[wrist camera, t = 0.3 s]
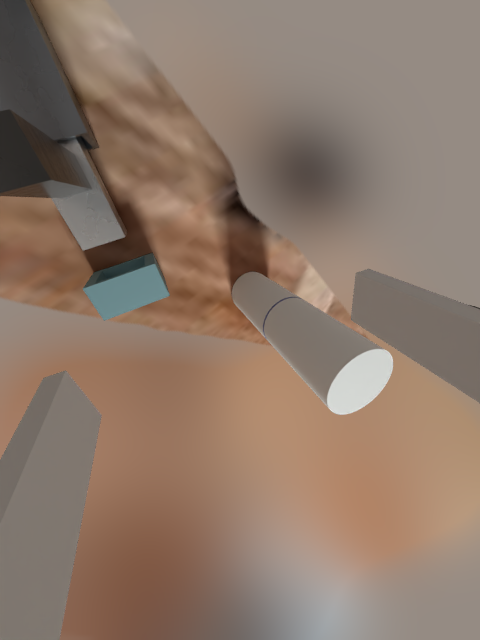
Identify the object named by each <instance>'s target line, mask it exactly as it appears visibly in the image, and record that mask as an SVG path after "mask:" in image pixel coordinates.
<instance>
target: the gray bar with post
mask: <svg viewBox="0 0 480 640" xmlns="http://www.w3.org/2000/svg"><path fill="white" fill-rule="evenodd" d="M0 196H15V197H43V198H51V199H52V200H53V202H54V204H55V205H56V207H57V209H58V210H59V212H60V214H61V215H62V217H63V219H64V220H65V222H66V223H67V225H68V227H69V228H70V230H71V232H72V233H73V235H74V237H75V238H76V240H77V242H78V243H79V245H80V246H81V248H82V250H83V251H84V250H87V249H90V248H93V247H96V246H99V245H102V244H105V243H108V242H112V241H115V240H118V239H121V238H124V237H126V235H127V230H126V228H125V226H124V224H123V222H122V220H121V218H120V216H119V214H118V212H117V210H116V208H115V206H114V204H113V202H112V200H111V198H110V196H109V193H108V191H107V189H106V187H105V185H104V183H103V181H102V179H101V177H100V175H99V173H98V171H97V169H96V167H95V165H94V163H93V161H92V159H91V156H90V154H89V152H88V150H87V148H86V146H85V144H84V142H83V140H82V138H81V136H78V137H74V138H70V139H65V140H61V141H57V142H56V141H55V140H53V139H52V138H50V137H49V136H48V135H46V134H45V133H43V132H42V131H40V130H39V129H37V128H36V127H35V126H33V125H32V124H30V123H29V122H27V121H26V120H24V119H23V118H22V117H20V116H19V115H17V114H16V113H14V112H13V111H11V110H10V109H8V110H4V111H0Z"/></svg>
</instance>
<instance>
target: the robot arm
mask: <svg viewBox="0 0 480 640" xmlns="http://www.w3.org/2000/svg"><path fill="white" fill-rule="evenodd" d="M351 320H352V321H353V322H355V323H356V324H358V325H360V326H361V327H363V328H364V329H366V330H367V331H369V332H370V333H372V334H374V335H375V336H377V337H378V338H380V339H381V340H383V341H384V342H386V343H388V344H389V345H391V346H392V347H394V348H395V349H397V350H398V351H400V352H401V353H403V354H405V355H406V356H408V357H409V358H411V359H412V360H414V361H416V362H417V363H419V364H420V365H422V366H423V367H425V368H426V369H428V370H429V371H431V372H433V373H434V374H436V375H437V376H439V377H440V378H442V379H443V380H445V381H446V382H448V383H450V384H451V385H453V386H454V387H456V388H457V389H459V390H461V391H462V392H464V393H465V394H467V395H468V396H470V397H471V398H473V399H474V400H476V401H478V402H479V403H480V308H478V307H475V306H471V305H467V304H464V303H461V302H458V301H456V300H453V299H450V298H447V297H445V296H442V295H439V294H436V293H433V292H431V291H428V290H425V289H423V288H420V287H417V286H414V285H411V284H409V283H406V282H404V281H401V280H398V279H395V278H393V277H390V276H387V275H384V274H381V273H379V272H376V271H373V270H371V269H367V270H364V271H361V272H358V273H356V276H355V286H354V295H353V304H352V314H351ZM100 420H101V414H100V412H99V411H98V410H97V409H96V407H95V406H94V405H93V404H92V403H91V401H90V400H89V399H88V398H87V396H86V395H85V394H84V392H83V391H82V390H81V389H80V387H79V386H78V385H77V384H76V383H75V381H74V380H73V379H72V378H71V376H70V375H69V374H68V373H67V371H63V372H60V373H57V374H54V375H51V376H48V377H45V378H43V380H42V382H41V384H40V386H39V387H38V389H37V391H36V393H35V395H34V397H33V399H32V401H31V403H30V404H29V406H28V408H27V410H26V412H25V414H24V416H23V418H22V420H21V421H20V423H19V425H18V427H17V429H16V431H15V433H14V435H13V437H12V438H11V441H10V443H9V444H8V446H7V448H6V450H5V452H4V454H3V455H2V458H1V460H0V640H59V639H60V634H61V628H62V623H63V617H64V612H65V607H66V602H67V596H68V591H69V585H70V581H71V575H72V570H73V565H74V559H75V554H76V548H77V543H78V538H79V533H80V527H81V522H82V517H83V511H84V506H85V500H86V495H87V490H88V485H89V479H90V474H91V469H92V464H93V458H94V452H95V448H96V442H97V437H98V432H99V426H100Z"/></svg>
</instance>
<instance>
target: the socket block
mask: <svg viewBox="0 0 480 640" xmlns="http://www.w3.org/2000/svg"><path fill="white" fill-rule="evenodd" d="M83 290H84V291H85V293H86V294H87V296H88V297H89V299H90V300H91V302H92V303H93V305H94V306H95V308H96V309H97V311H98V312H99V314H100V315H101V317H102V318H103V320H104V321H105V320H107V319H110V318H113V317H115V316H118V315H120V314H123V313H126V312H128V311H131V310H134V309H136V308H139V307H141V306H144V305H147V304H149V303H152V302H155V301H157V300H160V299H162V298H165V297H168V296H170V295H169V292H168V288H167V285H166V281H165V279H164V276H163V274H162V272H161V270H160V268H159V265H158V263H157V261H156V259H155V256H154V254H153V253H150V254H147V255H144V256H141V257H138V258H135V259H132V260H129V261H126V262H124V263H121V264H118V265H115V266H112V267H109V268H106V269H103V270H100V271H97V272H94V273H93V275H92V276H91V277H90V279H89V280H88V282H87V283H86V285H85V286H84V288H83Z"/></svg>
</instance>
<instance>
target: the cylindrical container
mask: <svg viewBox="0 0 480 640" xmlns="http://www.w3.org/2000/svg"><path fill="white" fill-rule="evenodd" d="M232 299H233V302H234V303H235V305H236V306H237V307H238V308H239V309H240V310H241V311H242V312H243V314H244V315H245V316H246V317H247V318H248V319H249V320H250V321H251V323H252V324H253V325H254V326H255V327H256V328H257V329H258V330H259V331H260V333H261V334H262V335H263V336H264V337H265V338H266V339H267V340H268V341H269V343H270V344H271V345H272V346H273V347H274V348H275V349H276V350H277V351H278V353H279V354H280V355H281V356H282V357H283V358H284V359H285V360H286V361H287V363H288V364H289V365H290V366H291V367H292V368H293V369H294V370H295V371H296V373H297V374H298V375H299V376H300V377H301V378H302V379H303V380H304V381H305V383H306V384H307V385H308V386H309V387H310V388H311V389H312V390H313V391H314V393H315V394H316V395H317V396H318V397H319V398H320V399H321V400H322V401H323V403H324V404H325V405H326V406H327V407H328V408H329V409H330V410H331V411H332V412H333V413H335V414H339V415H340V414H341V415H342V414H349V413H352V412H355V411H357V410H359V409H360V408H363V407H364V406H365V405H367V404H368V403H370V402H371V401H372V400H373V399H374V398H375V397H376V396H377V395H378V394H379V393H380V392H381V390H382V389H383V388H384V386H385V385H386V383H387V382H388V380H389V378H390V375H391V373H392V369H393V358H392V356H391V354H390V353H389V352H388V351H386V350H385V349H383V348H381V347H380V346H378V345H377V344H375V343H373V342H372V341H370V340H368V339H367V338H365V337H364V336H362V335H360V334H359V333H357V332H355V331H354V330H352V329H350V328H349V327H347V326H346V325H344V324H342V323H341V322H339V321H337V320H336V319H334V318H332V317H331V316H329V315H328V314H326V313H324V312H323V311H321V310H319V309H318V308H316V307H314V306H313V305H311V304H310V303H308V302H306V301H305V300H303V299H301V298H300V297H298V296H297V295H295V294H293V293H292V292H290V291H288V290H287V289H285V288H283V287H282V286H280V285H279V284H277V283H275V282H274V281H272V280H270V279H269V278H267V277H265V276H264V275H262V274H260V273H258V272H248V273H245V274H243V275H242V276H240V277H239V278H238V279H237V280H236V282H235V284H234V285H233V288H232Z"/></svg>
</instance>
